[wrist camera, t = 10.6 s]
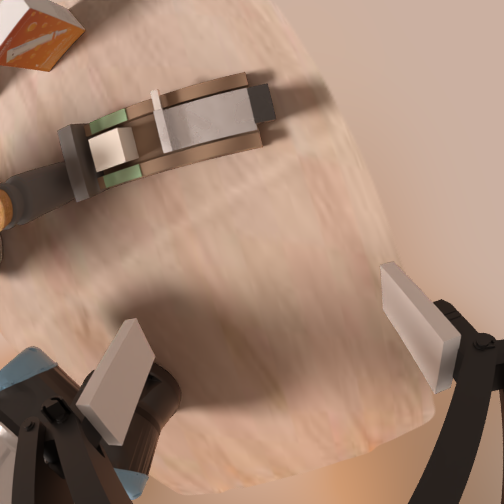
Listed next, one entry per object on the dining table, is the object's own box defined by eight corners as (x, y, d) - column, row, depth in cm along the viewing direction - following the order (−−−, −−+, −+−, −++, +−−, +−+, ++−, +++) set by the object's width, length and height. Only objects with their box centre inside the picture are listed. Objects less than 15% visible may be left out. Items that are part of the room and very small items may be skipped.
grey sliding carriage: (173, 150, 34) (157, 155, 29) (159, 94, 32) (141, 89, 27) (275, 126, 33) (277, 125, 28) (261, 67, 31) (260, 56, 25)
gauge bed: (99, 191, 38) (76, 202, 32) (82, 128, 35) (57, 130, 29) (262, 146, 35) (262, 149, 30) (245, 74, 32) (242, 64, 26)
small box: (49, 72, 31) (-14, 66, 19) (33, 49, 30) (-27, 39, 17) (88, 30, 29) (30, 7, 17) (69, 8, 27) (13, -16, 15)
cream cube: (111, 167, 36) (96, 172, 32) (104, 137, 34) (88, 139, 30) (139, 157, 35) (125, 161, 31) (131, 127, 34) (117, 127, 30)
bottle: (44, 191, 38) (-27, 223, 24) (56, 155, 36) (-20, 175, 22) (72, 209, 39) (3, 248, 25) (85, 172, 37) (12, 200, 23)
